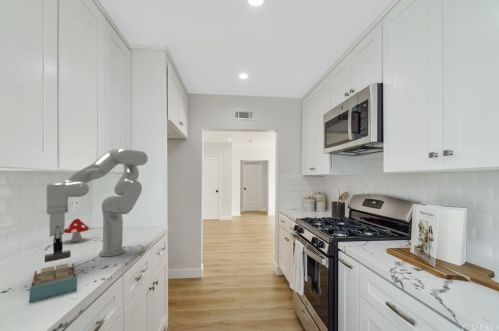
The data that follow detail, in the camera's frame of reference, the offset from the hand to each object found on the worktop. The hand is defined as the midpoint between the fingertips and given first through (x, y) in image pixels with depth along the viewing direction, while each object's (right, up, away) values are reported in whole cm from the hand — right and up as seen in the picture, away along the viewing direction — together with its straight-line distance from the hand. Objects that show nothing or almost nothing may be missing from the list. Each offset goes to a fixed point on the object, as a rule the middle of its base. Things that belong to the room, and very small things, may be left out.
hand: (58, 249), depth 105 cm
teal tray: (+15, -9, -19) cm, 26 cm away
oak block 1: (+7, -7, -13) cm, 16 cm away
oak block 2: (+10, -7, -10) cm, 16 cm away
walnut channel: (+7, -9, -10) cm, 16 cm away
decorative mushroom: (-27, -12, +47) cm, 55 cm away
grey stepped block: (0, -4, 0) cm, 4 cm away
